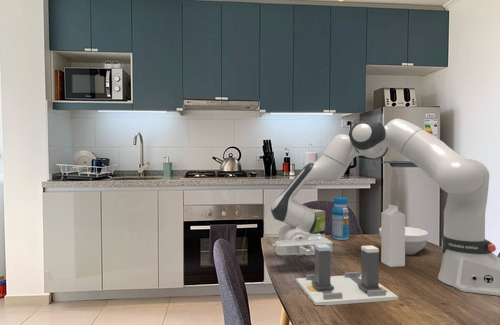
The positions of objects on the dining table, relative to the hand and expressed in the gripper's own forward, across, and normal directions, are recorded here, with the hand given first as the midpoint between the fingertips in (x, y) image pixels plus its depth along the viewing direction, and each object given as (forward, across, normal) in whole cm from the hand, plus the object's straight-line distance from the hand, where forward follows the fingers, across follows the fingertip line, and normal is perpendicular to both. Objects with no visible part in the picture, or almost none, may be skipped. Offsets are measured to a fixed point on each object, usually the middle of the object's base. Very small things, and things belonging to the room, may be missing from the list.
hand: (310, 252), depth 111 cm
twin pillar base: (+12, +6, +8) cm, 16 cm away
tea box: (-47, +15, +8) cm, 50 cm away
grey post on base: (+15, +13, +7) cm, 21 cm away
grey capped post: (+12, 0, +7) cm, 14 cm away
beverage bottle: (-50, +33, +8) cm, 60 cm away
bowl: (-24, +49, +9) cm, 55 cm away
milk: (-8, +35, +9) cm, 37 cm away
